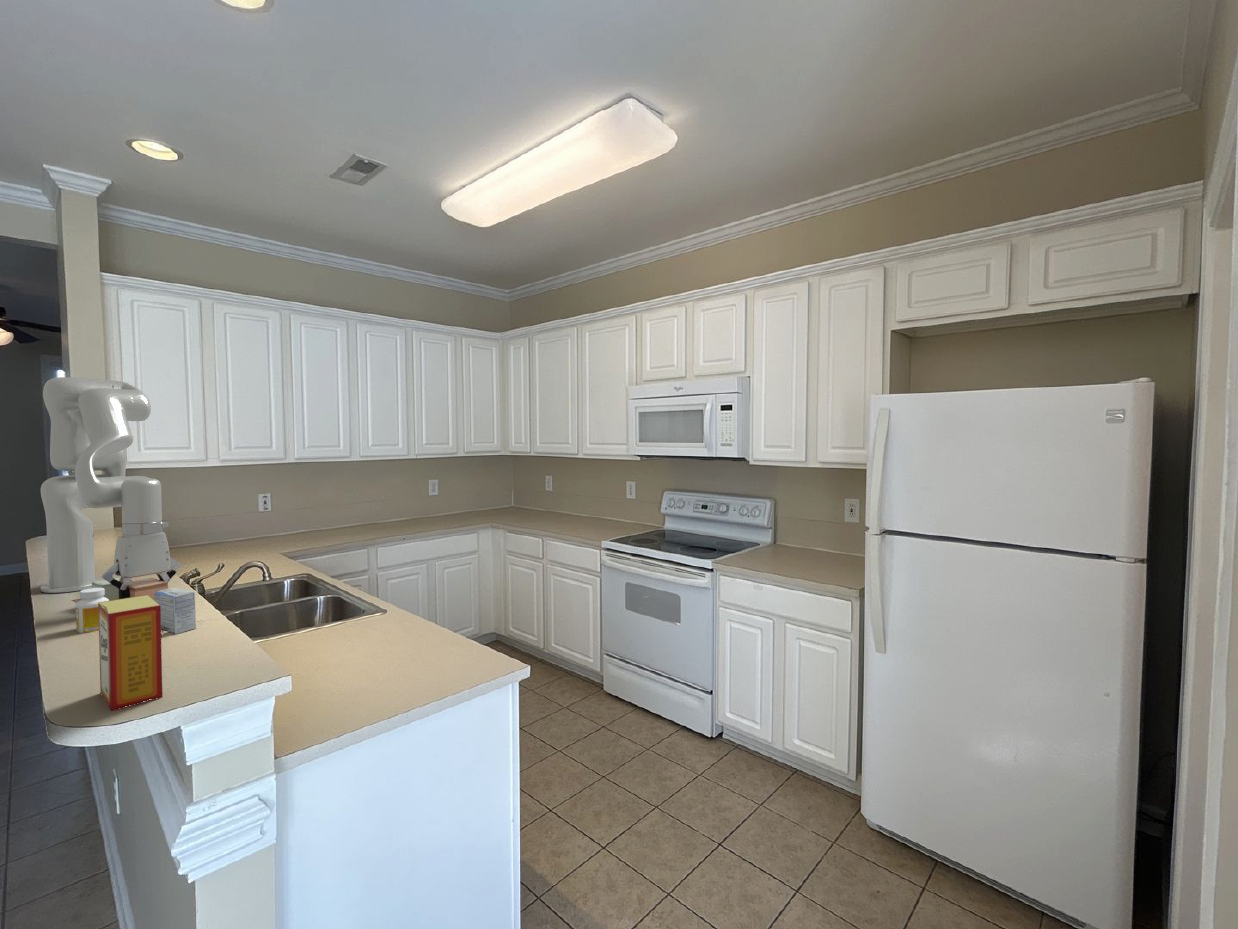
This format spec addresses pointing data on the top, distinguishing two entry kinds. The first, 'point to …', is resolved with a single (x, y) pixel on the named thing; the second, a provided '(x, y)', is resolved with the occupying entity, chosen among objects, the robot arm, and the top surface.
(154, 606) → the baking soda box
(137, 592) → the terracotta box
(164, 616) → the medicine box
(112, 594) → the sage green box
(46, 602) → the top surface
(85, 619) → the supplement bottle
